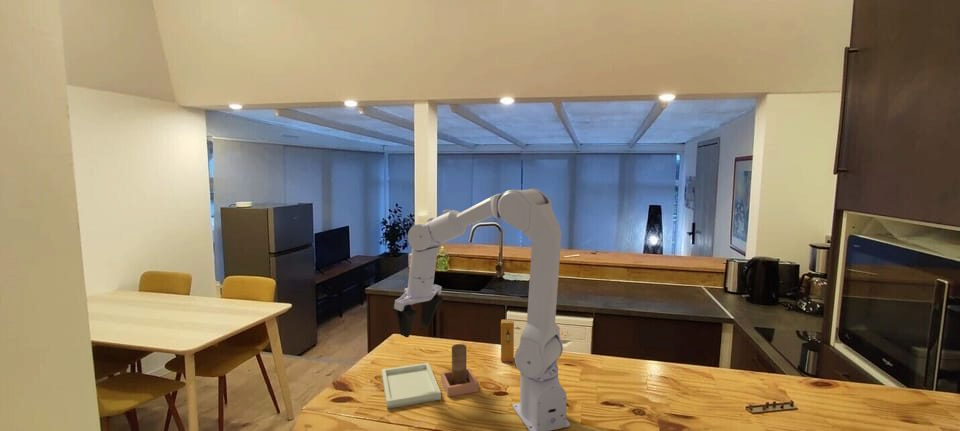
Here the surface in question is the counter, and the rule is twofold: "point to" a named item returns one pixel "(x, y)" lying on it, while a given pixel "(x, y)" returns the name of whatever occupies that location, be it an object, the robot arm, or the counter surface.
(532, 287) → the robot arm
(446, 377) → the holder
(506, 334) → the supplement box
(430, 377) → the tray
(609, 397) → the counter surface
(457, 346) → the dowel
